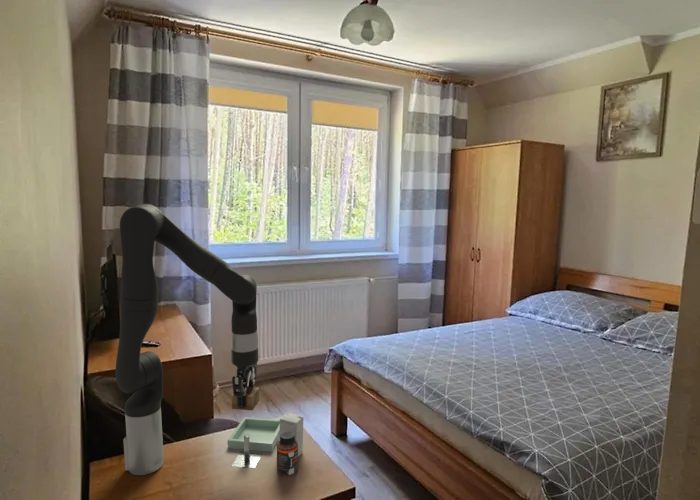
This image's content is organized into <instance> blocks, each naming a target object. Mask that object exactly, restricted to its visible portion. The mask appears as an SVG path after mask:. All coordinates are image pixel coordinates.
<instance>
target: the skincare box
mask: <svg viewBox="0 0 700 500" xmlns="http://www.w3.org/2000/svg"><path fill="white" fill-rule="evenodd" d="M279 420H280V435H281V433H283V432H286V431H291V432H293V433H294V435H295V439H296V440H297V442H298V458H299V457H300V456H301V455H302V454H303V452H304V451H303V446H304V444H303V443H304V416H301V415H298V414H294V413H290V412H286V413H284V415H282V416H281V417H280V418H279ZM279 440H280V437H279V439H278V441H279Z"/></svg>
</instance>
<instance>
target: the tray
mask: <svg viewBox="0 0 700 500" xmlns="http://www.w3.org/2000/svg"><path fill="white" fill-rule="evenodd" d="M245 435H249V437H250V451H259V452H272V453H273V451H274V449H275V447H276V446H277V443H278V441H279V437H280V419H274V418H273V419H272V418H259V417H249V416H248V417H247V416H244V417H243V418H242V420H241V421H240V422H239V424H238V425H237V426H236V428H235V429H234V431H233V432H232V433H231V435H230V436H229V438H228V439H227V449H235V450H244V436H245Z"/></svg>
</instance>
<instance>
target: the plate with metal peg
mask: <svg viewBox="0 0 700 500" xmlns="http://www.w3.org/2000/svg"><path fill="white" fill-rule="evenodd" d="M262 456H263V453H255V452H251V450H250V437H249V435H245V436H244V449H243V451H240V452H239V453H238V454H237V456H236V457H235V460H234V461H233V462H232V463H231V467H236V468H237V467H238V468H246V469H247V468H249V469H256V467H257V465H258V463H259V461H260V460H261V458H262Z"/></svg>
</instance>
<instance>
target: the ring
mask: <svg viewBox="0 0 700 500" xmlns="http://www.w3.org/2000/svg"><path fill="white" fill-rule="evenodd" d="M243 389H244V388H243ZM239 391H240V390H239ZM259 401H260V387H255V386H254V387H247V388H246V407H245V408H238V402H237V396H234V395H233V394H232V395H231V409H232V410H242V411H244V410H245V411H254V409H255V408H256V406H257V405H258V403H259Z"/></svg>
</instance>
